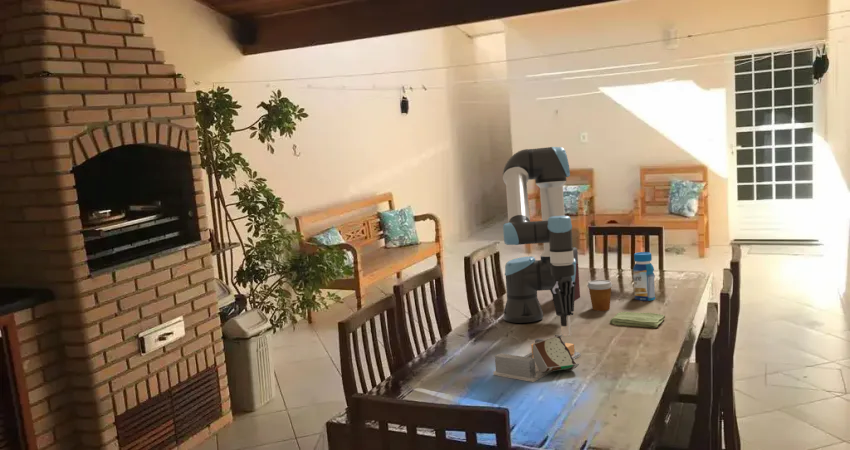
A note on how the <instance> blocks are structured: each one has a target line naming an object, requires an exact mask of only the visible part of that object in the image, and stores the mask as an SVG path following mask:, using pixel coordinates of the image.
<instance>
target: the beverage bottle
mask: <svg viewBox="0 0 850 450" xmlns="http://www.w3.org/2000/svg"><path fill="white" fill-rule="evenodd" d="M652 256H653V255H652V253H651V252H649V251H641V252H635V253H634V254H633V258H634V263H635V264H634V266H633V268H632V271H633V274H632V279H633V287H634V288H633V289H634V300H637V301H640V302H641V301H643V302H649V301H654V300H656V294H655V293H656V292H655V291H656V290H655V278H656V277H655V276H656V275H655V273H654V272H655V268H654V265H653V264H652V260H653V257H652Z"/></svg>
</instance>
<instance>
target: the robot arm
mask: <svg viewBox="0 0 850 450" xmlns="http://www.w3.org/2000/svg"><path fill="white" fill-rule="evenodd" d="M570 176H571V171H570V165H569V160H568V155H567V152H566V150H565V148H564V147H562V146H550V147H549V146H548V147H540V148H538V147H537V148H525V149H521V150H518V151H517V152H515V153H514V154H513V155H512V156H511V157H510V158H509V159H508V160H507V162H506V163H505V165H504V167H503V170H502V181H503V183H504V184H505V186H506V187H505V189H506V206H507V207H506V208H507V223H504V224H502V225H503V226H502V232H503V242H504V244H505V245H507V246H508V245H509V246H510V245H511V246H513V245H514V246H518V245H530V244H531V245H532V244H543V251H542V252H541V253H540V255H539V256H540V257H539V258H540V259H538V260H536V258H535V256H533V255H532V256H531V255H530V256H523V257H522V256H521V257H517V258H514V259H511V260H508V261H507V262H506V263H505V265H504V276H505V289H506V302H505V305H504V306H505V307H504V311H503V320H504V321H506V322H509V323H515V324H516V323H517V324H518V323H519V324H522V323H525V324H527V323H533V322H534V323H535V322H538V321H540V320H541V321H542V319H544V311H543V309H542V306H541V303H540V301H539V297H538V291H539V292H540V291H541V292H542V291H550V293H551V295H552V296H553V297H552V302H553V306H554V309H555V310H554V311H555V314H556V316H557V317H560V327H561V330H560V331H561V335H562V336H566V337H570V336H572V325H571V323H572V322H571V316H573V315H574V311H575V301H574V300H575V287H576V282H575V275H576V260H575V258H574V256H573V248H574V247H573V224H572V218H571V217H570V216H568V215H565V213H566V212H565V200H564V185H565V184H566V183H567V178H570ZM529 180H530V181H531V180H535V186H537V187H538V188H539V193H540V208H541V210H540V211H541V220H535V221H534V220H533V221H531V216H530V205H529V196H528V195H529V194H528V185H527V184H528V182H529Z"/></svg>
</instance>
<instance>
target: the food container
mask: <svg viewBox="0 0 850 450" xmlns="http://www.w3.org/2000/svg"><path fill="white" fill-rule="evenodd" d="M562 336H563V335H562V334H554V336H552V337H549V338H546V339H543V341H540V342H537V343H535V342H534V344H533V343H532V344H533V356H534V358H535V363H536V365H537V367H538V368H539V370H540V371H542V372H548V371H552V372H555V371H561V370H563V371H564V370H565V371H567V372H571V371H573V370H575V369H576V368H577V367H578V366H579V365H580V363H576V362H575V359H574V360H573V358H572V356H571V354H570V351H569V349H568V348H567V347H566V346H565V344H564V343H563V342H564V341H563V339H562Z"/></svg>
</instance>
